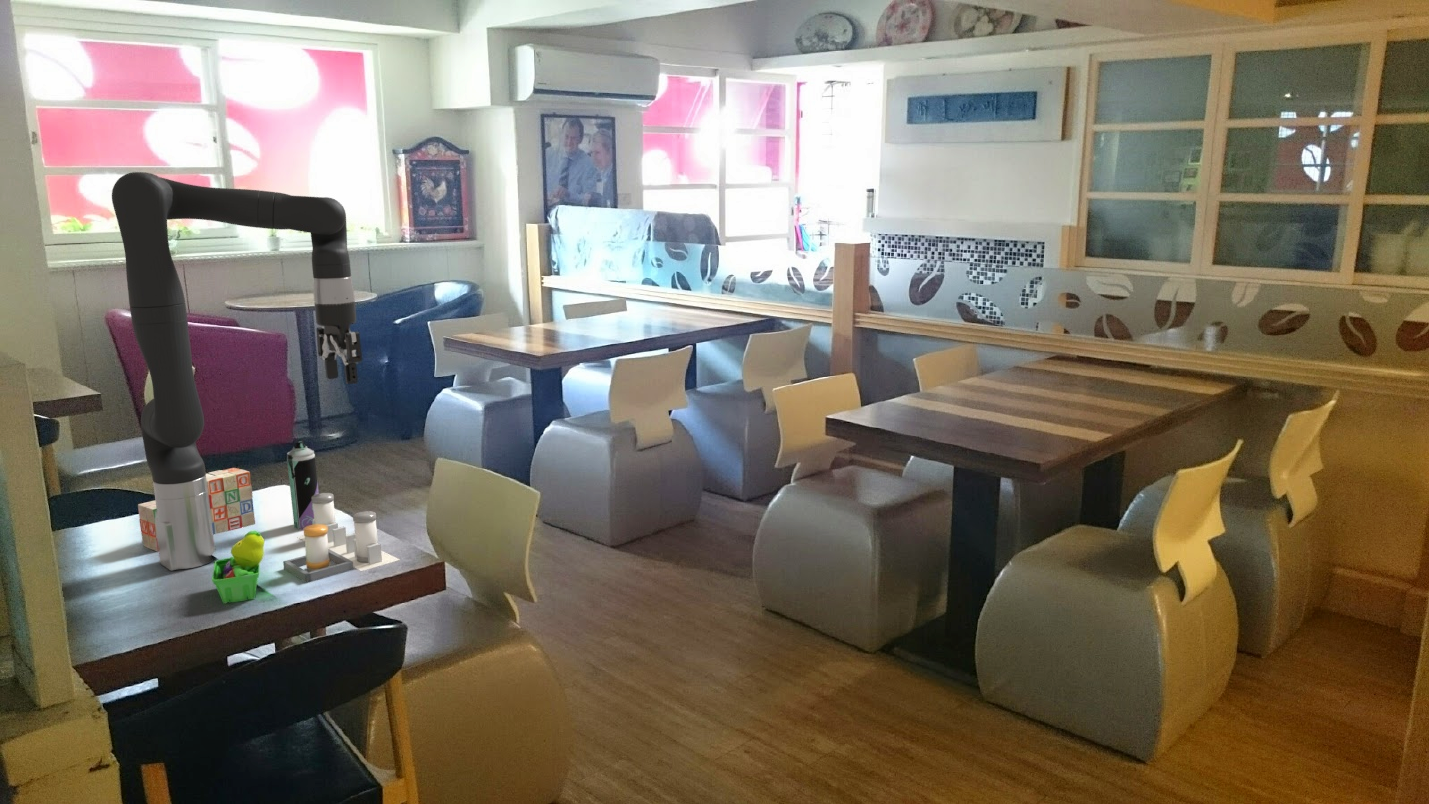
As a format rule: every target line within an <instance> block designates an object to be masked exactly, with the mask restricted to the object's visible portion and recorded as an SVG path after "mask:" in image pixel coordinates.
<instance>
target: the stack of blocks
mask: <svg viewBox="0 0 1429 804" xmlns="http://www.w3.org/2000/svg"><path fill="white" fill-rule="evenodd" d="M206 480H207V488H208V496H209V504H210V512H211V520H212V528H213V536H214V535H218V534H222V533H226V532H231V531H234V530H235V531H236V530H239V529H243V528H246V527H249V526H250V527H251V526H253V525H255V524H256V520H255V519H256V517H255V511H254V500H253V498H254V496H253V487H252V484H251V473H250V471H248V470H245V469H240V468H238V467H237V468H236V467H232V468H227V469H223V470H220V469H218V470H215V471H211V472H210V471H209V472H208V473H206ZM137 508H138V517H139V526H140V533H141V539H142V546H143V547H144V548H147V549H150V550H152V551H155V552H157V553H159V548H158V541H157V534H156V526H155V517H158V515H157V508H156V501H155V500H150V501H147V502H143V503H142V502H141V503H138V504H137ZM242 527H243V528H242Z"/></svg>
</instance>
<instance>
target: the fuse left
mask: <svg viewBox="0 0 1429 804" xmlns="http://www.w3.org/2000/svg"><path fill="white" fill-rule="evenodd" d="M334 499H335V498H334V494H333V493H331V492H322V493H321V492H319V494H316V495H313V496H312V503H313V512H314V522H315V524H323V525H329V524H333V523H337V522H336V513H335V504H334Z"/></svg>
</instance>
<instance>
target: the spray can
mask: <svg viewBox="0 0 1429 804" xmlns="http://www.w3.org/2000/svg"><path fill="white" fill-rule="evenodd" d="M304 442H305V441H304V440H300V441H297V442H296V441H295V442H294V446H293V447H292V449H291V450H290V451H288V452H287V453H286V455H287V457H286V461H287V470H288V479H289V480H288V481H289V488H290V489H289V490H290V498H291V507H292V517H293V519H292V520H293V526H294V529H296V530H303V529H304V528H305V527H306V526H309V525H313V519H314V512H313V503H312V496H313V495H316V494H320V492H319V485H318V484H319V483H318V482H319V481H318V473H317V472H318V471H317V463H316V454H315V450H313V449H311V448H308V446H307V445H306V444H305V443H304Z"/></svg>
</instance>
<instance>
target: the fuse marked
mask: <svg viewBox="0 0 1429 804" xmlns="http://www.w3.org/2000/svg"><path fill="white" fill-rule="evenodd" d="M302 530H303V536H305V541H304V547H305V548H304V549H305V555H306V565H305V567H306V569H305V571H307V572H312V571H316V570H319V569H323V568H326V567H330V560H329V553H328V537H327V533H328V528H327V526H326V525H323V524H314V525H309V526H306V527H305V528H304V529H302Z"/></svg>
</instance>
